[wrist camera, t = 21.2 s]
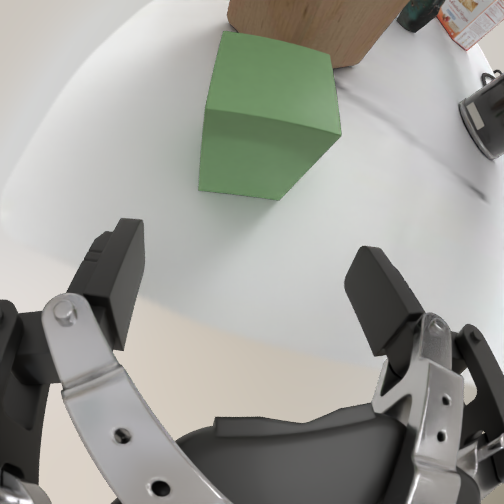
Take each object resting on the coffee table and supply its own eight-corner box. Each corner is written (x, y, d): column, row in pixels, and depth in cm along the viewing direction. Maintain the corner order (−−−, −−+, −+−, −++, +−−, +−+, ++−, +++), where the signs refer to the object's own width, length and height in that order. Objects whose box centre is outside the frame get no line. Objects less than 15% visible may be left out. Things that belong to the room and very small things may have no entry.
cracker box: (431, 11, 34) (470, -30, 14) (447, 23, 35) (486, -15, 15) (450, 38, 32) (499, -6, 12) (466, 52, 33) (515, 12, 13)
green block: (281, 134, 18) (330, 54, 10) (279, 200, 17) (342, 135, 9) (208, 122, 17) (223, 30, 9) (198, 190, 16) (204, 109, 8)
